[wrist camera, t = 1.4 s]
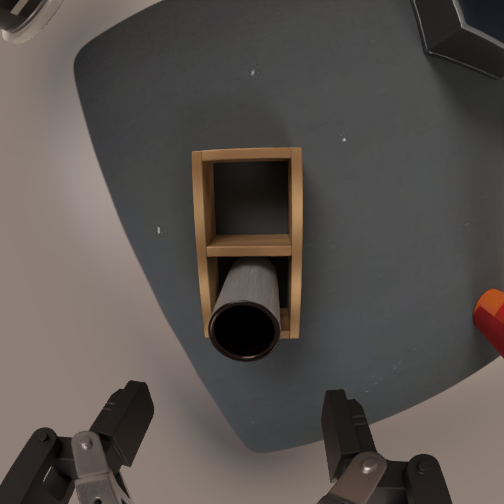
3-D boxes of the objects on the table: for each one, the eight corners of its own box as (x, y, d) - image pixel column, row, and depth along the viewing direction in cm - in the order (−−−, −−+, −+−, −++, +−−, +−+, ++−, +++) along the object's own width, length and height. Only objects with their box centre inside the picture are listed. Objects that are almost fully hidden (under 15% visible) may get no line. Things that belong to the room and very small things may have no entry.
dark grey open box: (402, -21, 17) (427, -53, 9) (474, 8, 16) (505, -12, 9) (423, 53, 20) (462, 27, 12) (495, 80, 19) (535, 68, 12)
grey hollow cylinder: (234, 248, 26) (213, 292, 17) (282, 259, 26) (289, 309, 17) (225, 292, 28) (202, 353, 18) (270, 303, 28) (270, 368, 18)
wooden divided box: (204, 155, 24) (191, 151, 20) (296, 152, 24) (302, 147, 20) (213, 314, 28) (204, 337, 24) (295, 314, 28) (298, 338, 24)
